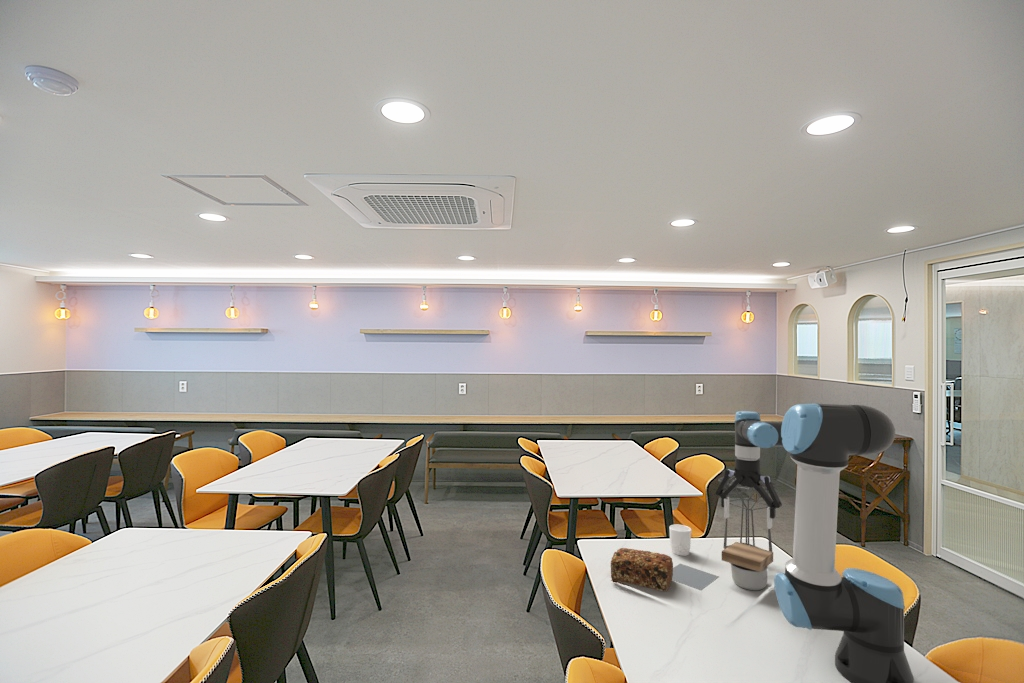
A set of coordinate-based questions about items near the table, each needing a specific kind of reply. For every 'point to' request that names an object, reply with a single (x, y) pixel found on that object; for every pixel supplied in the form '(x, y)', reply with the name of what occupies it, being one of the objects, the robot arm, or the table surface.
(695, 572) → the mat
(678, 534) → the white cup
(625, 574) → the bread
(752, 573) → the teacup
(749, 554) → the wooden block
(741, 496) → the geometric lantern
